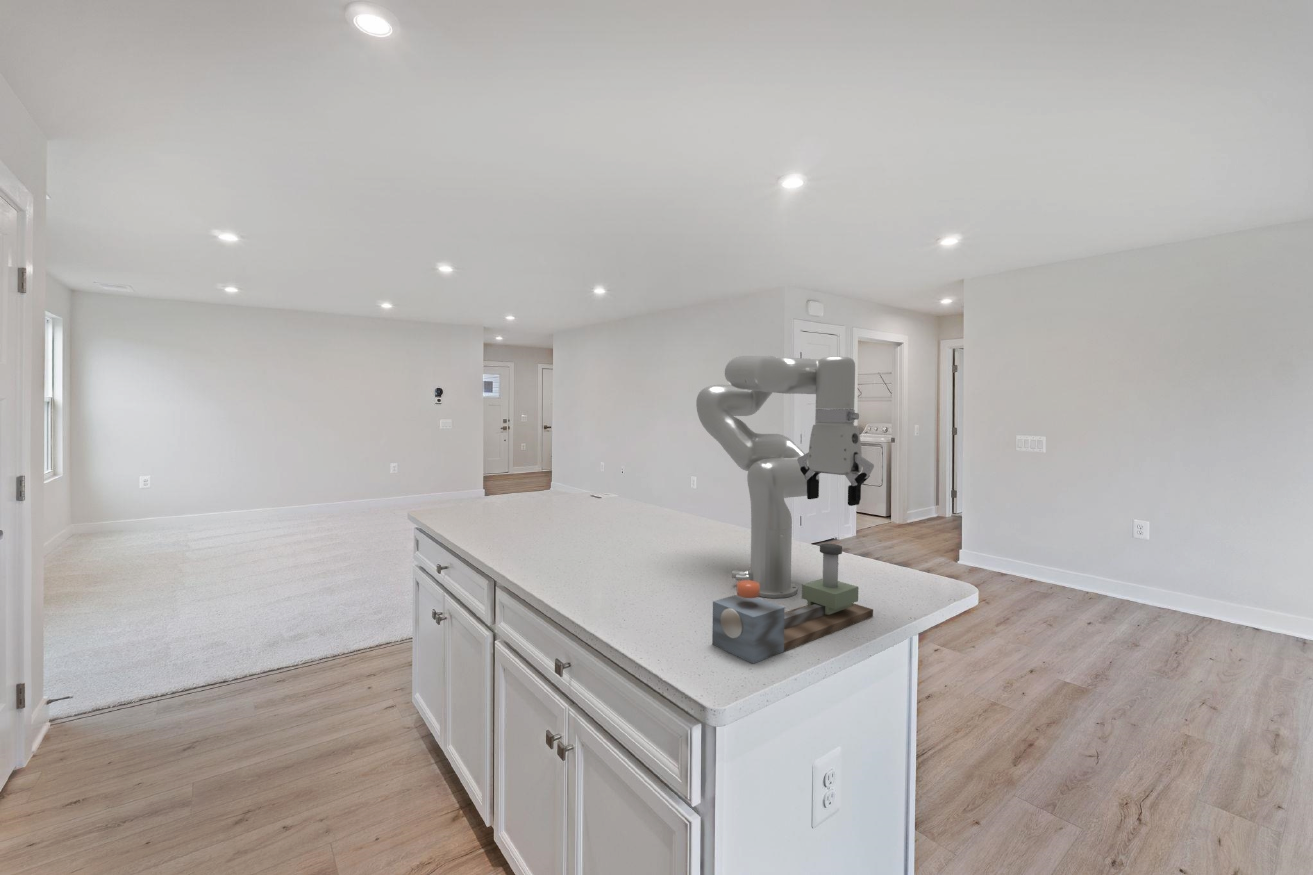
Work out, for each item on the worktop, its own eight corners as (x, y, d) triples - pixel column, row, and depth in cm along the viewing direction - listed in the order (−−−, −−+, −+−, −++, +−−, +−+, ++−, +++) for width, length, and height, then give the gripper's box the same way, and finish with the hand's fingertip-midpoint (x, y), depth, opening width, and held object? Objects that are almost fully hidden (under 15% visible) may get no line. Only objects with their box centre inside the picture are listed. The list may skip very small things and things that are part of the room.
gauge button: (748, 599, 99) (748, 588, 99) (732, 593, 103) (732, 582, 102) (764, 595, 102) (764, 584, 102) (747, 589, 105) (747, 578, 105)
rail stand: (751, 664, 96) (752, 617, 96) (710, 644, 104) (711, 601, 104) (872, 616, 119) (873, 578, 118) (831, 603, 127) (832, 567, 126)
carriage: (834, 616, 112) (836, 553, 111) (801, 605, 118) (802, 545, 118) (858, 608, 117) (859, 547, 116) (825, 597, 123) (826, 539, 123)
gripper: (884, 419, 111) (881, 505, 112) (810, 417, 125) (808, 494, 126) (862, 419, 107) (860, 509, 107) (788, 417, 120) (787, 498, 121)
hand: (832, 501), depth 117 cm, fingers open, 9 cm apart
